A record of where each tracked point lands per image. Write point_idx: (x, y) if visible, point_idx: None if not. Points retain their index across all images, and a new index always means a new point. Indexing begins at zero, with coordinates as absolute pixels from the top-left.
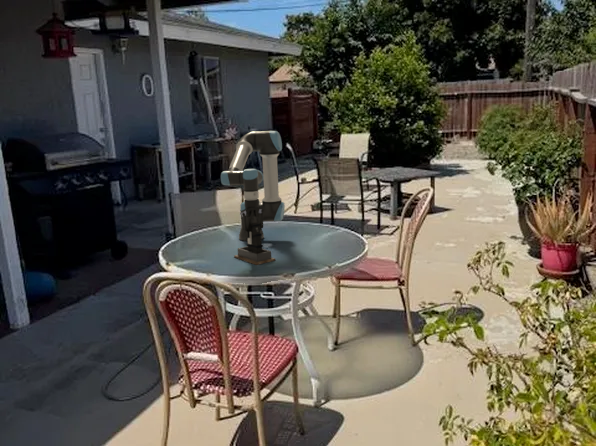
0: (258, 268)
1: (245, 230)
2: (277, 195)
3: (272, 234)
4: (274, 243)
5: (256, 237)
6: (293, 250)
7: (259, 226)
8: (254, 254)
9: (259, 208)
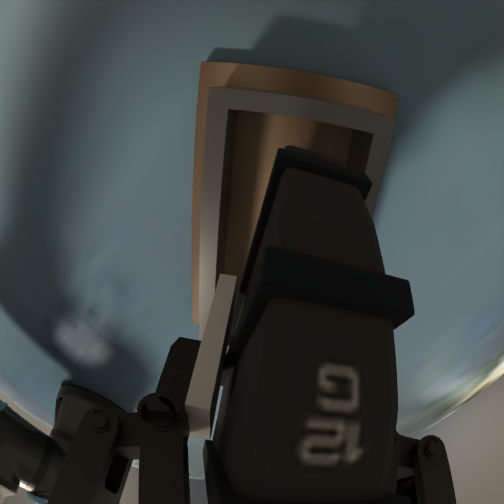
0: (438, 34)
1: (440, 447)
2: None
3: (34, 379)
4: (45, 330)
5: (377, 265)
6: (10, 184)
7: (151, 461)
8: (384, 157)
9: (34, 479)
